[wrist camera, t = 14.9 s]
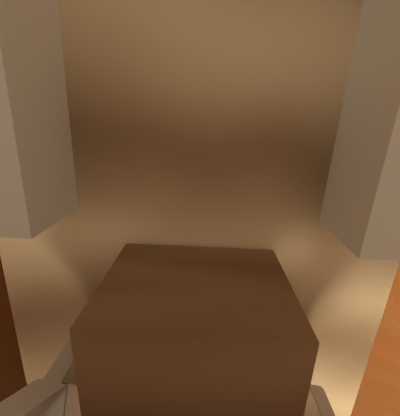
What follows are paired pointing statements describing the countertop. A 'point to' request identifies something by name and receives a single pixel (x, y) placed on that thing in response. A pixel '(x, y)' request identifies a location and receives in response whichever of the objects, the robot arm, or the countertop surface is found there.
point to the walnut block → (193, 336)
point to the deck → (203, 163)
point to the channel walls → (62, 144)
